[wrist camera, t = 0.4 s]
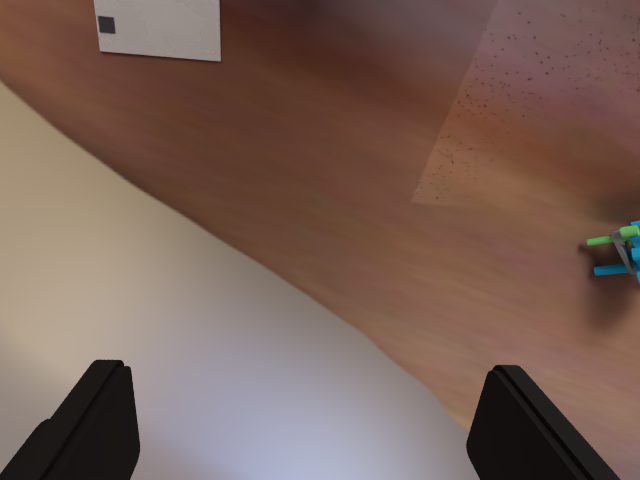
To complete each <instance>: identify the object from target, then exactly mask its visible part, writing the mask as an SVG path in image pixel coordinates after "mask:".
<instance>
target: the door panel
mask: <svg viewBox="0 0 640 480" xmlns="http://www.w3.org/2000/svg"><path fill="white" fill-rule="evenodd" d="M94 7H95V14H96V22H97V30H98V38H99V46H100V51H103V52H114V53H126V54H138V55H149V56H161V57H173V58H185V59H196V60H208V61H220V62H221V36H220V0H94Z"/></svg>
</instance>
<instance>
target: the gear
mask: <svg viewBox="0 0 640 480" xmlns="http://www.w3.org/2000/svg"><path fill="white" fill-rule="evenodd" d="M626 241H628V244H629V245H634V247H635V248H632V257H631V255H630V253H629V251H628V249H627V247H626V245H625V242H626ZM611 242H614V244H615V246H616V248H617V250H618V252H619V254H620V256H621V258H622V260H623V262H624V264H616V265H608V266H599V267H594V273H595V275H596V276H598V275H608V274H619V273H629V274H630V275H637V276H638V280H639V284H640V221H635V222H631V226H628V227H622V228H620V230H615V231H612V235H611V236H605V237H599V238H593V239H587V244H588V246H591V245H598V244H604V243H611ZM632 258H633V259H632Z"/></svg>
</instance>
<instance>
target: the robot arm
mask: <svg viewBox="0 0 640 480" xmlns="http://www.w3.org/2000/svg"><path fill="white" fill-rule="evenodd" d="M466 448H467V453H468V456H469V458H470V461H471V462H472V464H473V466H474V468H475V470H476V472H477V474H478V476H479V478H480V480H620V478H619V477H618V476H617V475H616V474H615V473H614V472H613V470H612V469H611V468H610V467H609V466H608V465H607V464H606V463H605V461H604V460H603V459H602V458H601V457H600V456H599V455H598V454H597V452H596V451H595V450H594V449H593V448H592V447H591V446H590V444H589V443H588V442H587V441H586V440H585V439H584V438H583V437H582V435H581V434H580V433H579V432H578V431H577V430H576V429H575V428H574V426H573V425H572V424H571V423H570V422H569V421H568V420H567V418H566V417H565V416H564V415H563V414H562V413H561V412H560V411H559V409H558V408H557V407H556V406H555V405H554V404H553V403H552V402H551V400H550V399H549V398H548V397H547V396H546V395H545V394H544V392H543V391H542V390H541V389H540V388H539V387H538V386H537V385H536V383H535V382H534V381H533V380H532V379H531V378H530V377H529V376H528V374H527V373H526V372H525V371H524V370H523V369H522V368H521V367H520V366H517V365H496V366H495V367H493V370H492V371H489V372H488V374H487V377H486V380H485V383H484V386H483V390H482V393H481V396H480V400H479V403H478V406H477V410H476V413H475V416H474V419H473V423H472V426H471V429H470V433H469V436H468V440H467V444H466ZM139 453H140V441H139V432H138V424H137V415H136V407H135V398H134V390H133V382H132V373H131V368H130V367H129V366H124V363H123V361H121V360H96V361H94V362H93V363H92V364H91V365H90V367H89V368H88V369H87V371H86V372H85V373H84V374H83V376H82V377H81V378H80V380H79V381H78V383H77V384H76V385H75V387H74V388H73V389H72V390H71V392H70V393H69V394H68V396H67V397H66V398H65V400H64V401H63V402H62V404H61V405H60V406H59V408H58V409H57V410H56V412H55V413H54V414H53V416H52V417H51V418H50V419H46V420H45V421H43V422H41V423H40V424H39V425H38V427H36V428H35V430H34V431H33V432H32V434H31V435H30V436H29V437H28V439H27V440H26V441H25V443H24V444H23V445H22V447H21V448H20V449H19V451H18V452H17V453H16V454H15V456H14V457H13V458H12V459H11V461H10V462H9V463H8V465H7V466H6V467H5V468H4V470H3V471H2V472H1V474H0V480H130V478H131V476H132V474H133V471H134V469H135V466H136V464H137V461H138V458H139Z"/></svg>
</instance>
